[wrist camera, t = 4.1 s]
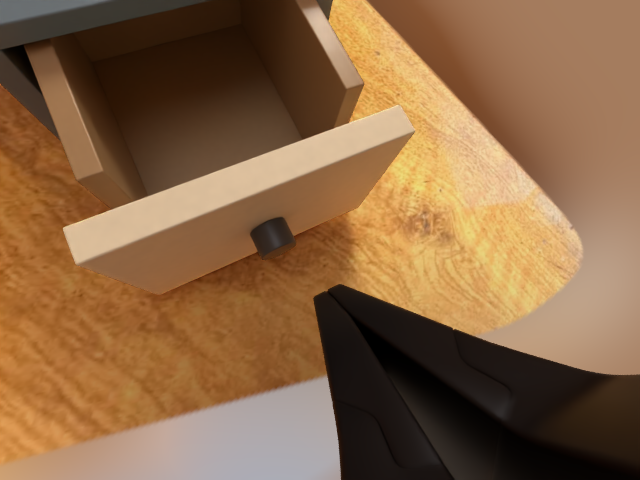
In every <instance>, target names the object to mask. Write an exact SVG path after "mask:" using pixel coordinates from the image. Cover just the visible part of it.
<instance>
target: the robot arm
mask: <svg viewBox="0 0 640 480" xmlns="http://www.w3.org/2000/svg"><path fill="white" fill-rule="evenodd" d="M313 299H314V305H315V311H316V316H317V321H318V327H319V332H320V338H321V343H322V349H323V354H324V360H325V365H326V370H327V376H328V381H329V387H330V392H331V398H332V401H333V409H334V414H335V421H336V427H337V434H338V441H339V454H340V468H341V480H640V375H609V374H601V373H595V372H590V371H585V370H581V369H577V368H574V367H570V366H567V365H564V364H560V363H557V362H553V361H550V360H546V359H543V358H540V357H536V356H533V355H529V354H526V353H523V352H519V351H516V350H513V349H509V348H507V347H504V346H500V345H497V344H494V343H491V342H488V341H486V340H483V339H480V338H477V337H475V336H472V335H469V334H467V333H464V332H462V331H459V330H457V329H454V330H453V328H451V327H449V326H446V325H444V324H441V323H438V322H436V321H433V320H431V319H428V318H426V317H423V316H421V315H418V314H416V313H413V312H411V311H408V310H405V309H403V308H400V307H398V306H395V305H393V304H390V303H388V302H385V301H383V300H380V299H378V298H375V297H373V296H370V295H367V294H365V293H362V292H360V291H357V290H355V289H352V288H350V287H347V286H345V285H342V284H338V285H336V286H334V287H332V288H330V289H329V290H328V291H327V292H326V291H324V292H322V293H320V294H318V295H316V296H315V297H314V298H313Z"/></svg>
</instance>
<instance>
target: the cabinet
mask: <svg viewBox="0 0 640 480" xmlns="http://www.w3.org/2000/svg"><path fill="white" fill-rule="evenodd" d="M207 1H211V0H0V84H1V85H2V86H3V87H4V88H5V89H7V90H8V91H9V92H10V93H11V94H12V95H13V96H14V97H15V98H16V99H17V100H18V101H19V102H20V103H21V104H22V105H23V106H24V107H26V108H27V109H28V110H29V111H30V112H31V113H32V114H33V115H34V116H35V117H36V118H37V119H38V120H39V121H40V122H41V123H42V124H43V125H44V126H46V127H47V128H48V129H49V130H50V131H51V132H52V133H53V134H54V135H55V136H56V137H57V138H58V139H59V140H60V138H59V135H58V132H57V130H56V127H55V125H54V122H53V120H52V117H51V114H50V112H49V109H48V107H47V104H46V102H45V99H44V96H43V94H42V91H41V89H40V86H39V83H38V81H37V78H36V76H35V73H34V71H33V68H32V65H31V63H30V60H29V58H28V55H27V53H26V50H25V47H24V45H23V44H27V43H32V42H36V41H40V40H44V39H49V38H53V37H57V36H61V35H66V34H70V33H74V32H79V31H83V30H87V29H91V28H96V27H100V26H104V25H109V24H113V23H117V22H121V21H126V20H130V19H134V18H139V17H143V16H147V15H151V14H156V13H160V12H164V11H169V10H173V9H177V8H181V7H186V6H190V5H194V4H198V3H203V2H207ZM316 1H317V3H318V4H319V6H320V8H321V10H322V11H323V13H324V15H325V16H326V18H327V20H329V15H330V10H331V6H332V1H333V0H316ZM60 141H61V140H60Z"/></svg>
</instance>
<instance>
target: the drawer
mask: <svg viewBox="0 0 640 480" xmlns="http://www.w3.org/2000/svg"><path fill="white" fill-rule="evenodd" d="M23 45H24V47H25V50H26V53H27V55H28V58H29V60H30V63H31V65H32V68H33V71H34V73H35V76H36V78H37V81H38V83H39V86H40V89H41V91H42V94H43V96H44V99H45V102H46V104H47V107H48V109H49V112H50V114H51V117H52V120H53V122H54V125H55V127H56V130H57V132H58V135H59V138H60V140H61V143H62V145H63V148H64V150H65V153H66V156H67V158H68V161H69V163H70V166H71V169H72V171H73V174H74V176H75V179H76V181H78V182H79V183H80V184H81V185H82V186H84V187H85V188H86V189H87V190H89V191H90V192H91V193H92V194H93V195H95V196H96V197H97V198H98V199H100V200H101V201H102V202H103V203H105V204H106V205H107V206H108V207H109V208H111V209H112V210H109V211H107V212H104V213H101V214H99V215H96V216H93V217H90V218H88V219H85V220H82V221H79V222H77V223H74V224H71V225H68V226H66V227H64V228H63V232H64V235H65V237H66V240H67V243H68V245H69V248H70V251H71V254H72V256H73V259H74V262H75V264H76V265H77V266H80V267H83V268H85V269H88V270H91V271H94V272H96V273H99V274H102V275H105V276H107V277H110V278H113V279H116V280H118V281H121V282H124V283H127V284H129V285H132V286H135V287H138V288H140V289H143V290H146V291H149V292H151V293H154V294H157V295H161V294H163V293H165V292H168V291H170V290H172V289H174V288H177V287H179V286H181V285H183V284H186V283H188V282H190V281H193V280H195V279H197V278H199V277H202V276H204V275H206V274H208V273H211V272H213V271H215V270H217V269H220V268H222V267H224V266H227V265H229V264H231V263H233V262H236V261H238V260H240V259H242V258H245V257H247V256H249V255H252V254H254V253H256V252H258V253H259V255H260V257H261V259H262V260H268V259H271V258H274V257H277V256H279V255H281V254H283V253H285V252H287V251H288V250H290V249H291V248H293V247H294V246H295V245H296V240H295V238H294V236H295V235H297V234H299V233H301V232H304V231H306V230H308V229H310V228H313V227H315V226H317V225H320V224H322V223H324V222H326V221H329V220H331V219H333V218H335V217H338V216H340V215H342V214H344V213H347V212H349V211H351V210H354V209H356V208H358V207H359V206H360V204H361V203H362V202H363V200H364V199H365V198H366V196H367V195H368V194H369V192H370V191H371V190H372V188H373V187H374V186H375V184H376V183H377V182H378V180H379V179H380V178H381V176H382V175H383V174H384V172H385V171H386V170H387V168H388V167H389V166H390V164H391V163H392V162H393V160H394V159H395V158H396V156H397V155H398V154H399V152H400V151H401V150H402V148H403V147H404V146H405V144H406V143H407V142H408V140H409V139H410V138H411V136H412V135H413V134H414V132H415V129H414V127H413V126H412V124H411V122H410V120H409V119H408V117H407V115H406V114H405V112H404V110H403V109H402V107H401V105H397V106H394V107H391V108H389V109H386V110H383V111H380V112H378V113H375V114H372V115H369V116H367V117H364V118H361V119H358V120H356V121H353V122H350V123H349V121H350V118H351V116H352V113H353V111H354V108H355V106H356V103H357V101H358V98H359V96H360V94H361V91H362V89H363V86H364V82H363V80H362V78H361V77H360V75H359V73H358V72H357V70H356V68H355V66H354V65H353V63H352V61H351V59H350V58H349V56H348V54H347V53H346V51H345V49H344V47H343V46H342V44H341V42H340V41H339V39H338V37H337V35H336V34H335V32H334V30H333V29H332V27H331V25H330V23H329V22H328V20H327V18H326V16H325V15H324V13H323V11H322V10H321V8H320V6H319V4H318V3H317V1H316V0H211V1H207V2H203V3H198V4H194V5H190V6H186V7H181V8H177V9H173V10H169V11H164V12H160V13H156V14H151V15H147V16H143V17H139V18H134V19H130V20H126V21H121V22H117V23H113V24H109V25H104V26H100V27H96V28H91V29H87V30H83V31H79V32H74V33H70V34H66V35H61V36H57V37H53V38H49V39H44V40H40V41H36V42H32V43H27V44H23Z"/></svg>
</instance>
